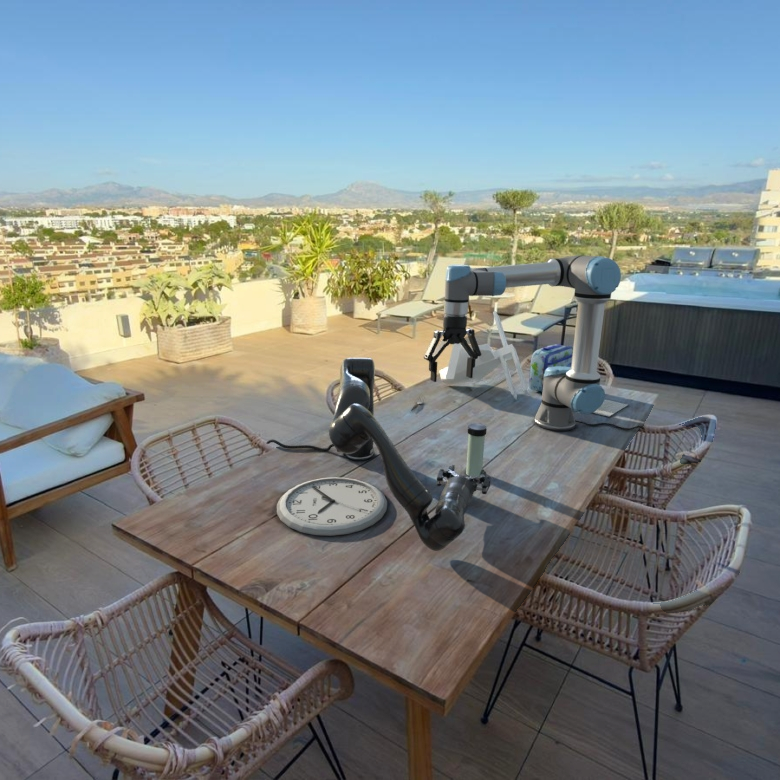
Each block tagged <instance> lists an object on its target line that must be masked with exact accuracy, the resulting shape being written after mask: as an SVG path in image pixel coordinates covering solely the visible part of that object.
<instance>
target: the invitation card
mask: <svg viewBox="0 0 780 780" xmlns="http://www.w3.org/2000/svg"><path fill="white" fill-rule="evenodd" d="M628 406H629V404H627V403H623V402H618V401H614V400H609V399H604V402H603V404H602V405H601V406H600V408H598V409H597V410H596V411H595V412H593V413H592V414H596V415H600V416H604V417H608V418H609V417H611V416H613V415H614V414H616V413H617V412H619V411H621V410H623V409H624V408H626V407H628Z"/></svg>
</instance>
